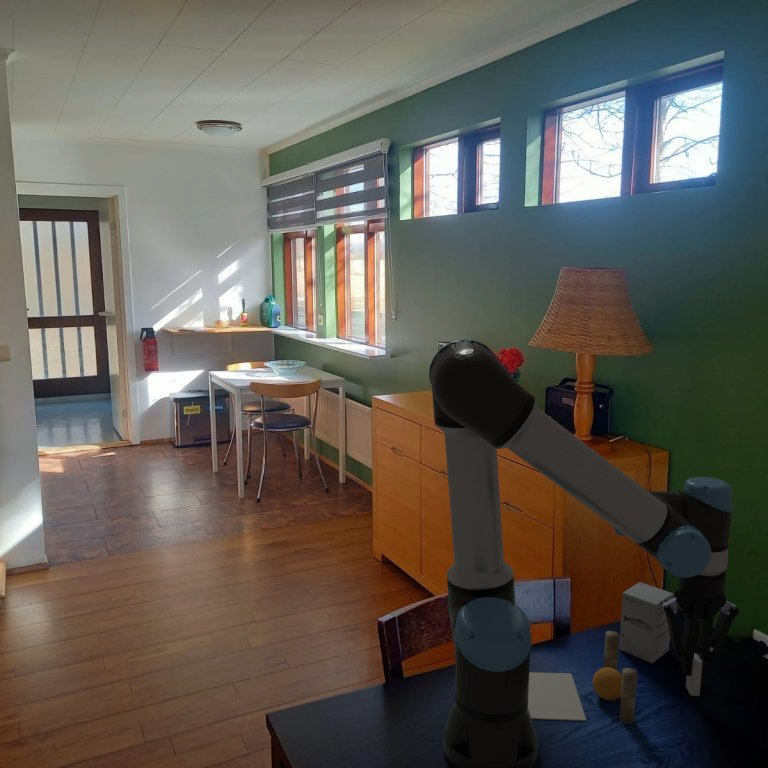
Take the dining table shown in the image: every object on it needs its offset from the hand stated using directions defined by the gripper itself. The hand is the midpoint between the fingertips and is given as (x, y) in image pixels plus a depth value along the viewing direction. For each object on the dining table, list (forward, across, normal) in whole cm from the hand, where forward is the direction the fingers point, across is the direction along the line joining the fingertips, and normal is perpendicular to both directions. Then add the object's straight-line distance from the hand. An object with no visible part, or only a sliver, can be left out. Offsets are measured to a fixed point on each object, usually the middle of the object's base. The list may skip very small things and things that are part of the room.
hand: (692, 690), depth 132 cm
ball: (-1, +15, 0) cm, 15 cm away
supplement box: (+2, +4, -16) cm, 17 cm away
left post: (+2, +13, -6) cm, 15 cm away
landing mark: (+2, +27, 0) cm, 27 cm away
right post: (+2, +13, +6) cm, 15 cm away
